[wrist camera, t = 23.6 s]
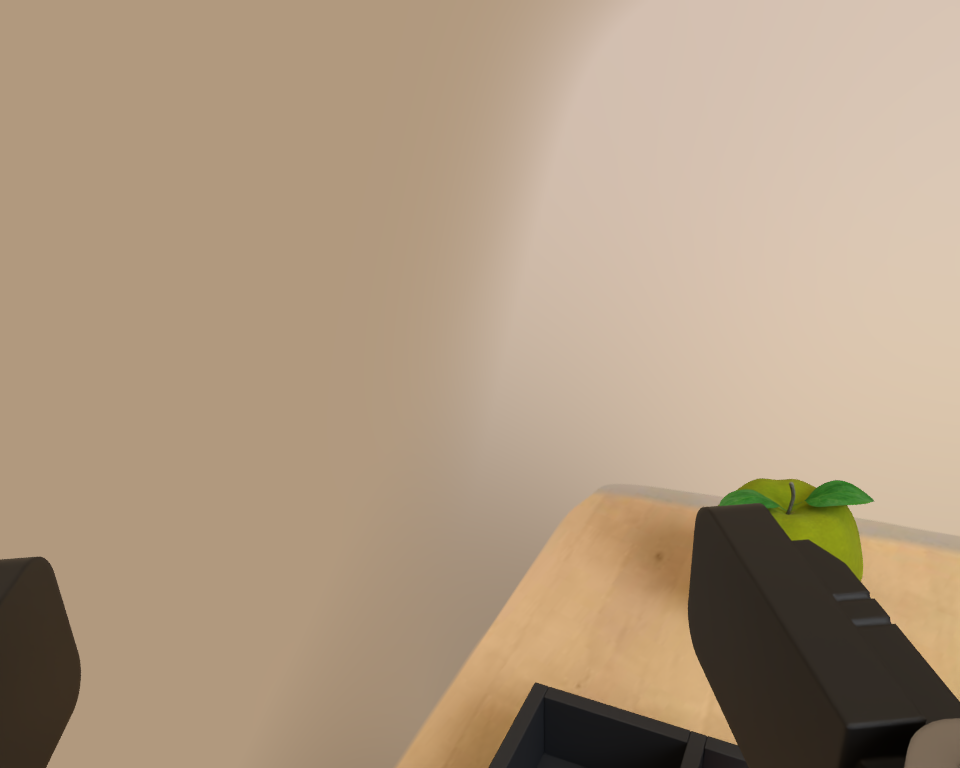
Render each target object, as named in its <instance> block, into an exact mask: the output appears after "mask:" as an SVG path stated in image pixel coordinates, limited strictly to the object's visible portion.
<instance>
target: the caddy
mask: <svg viewBox="0 0 960 768" xmlns="http://www.w3.org/2000/svg"><path fill="white" fill-rule="evenodd" d="M489 768H749V767H748V765H747V763H746V761H745V759H744V757H743V754H742V752H741V750H740V748H739V746H738V745H735V744H731V743H728V742H725V741H722V740H719V739H715V738H712V737H709V736H708V737H707V736H705V735H702V734H699V733H696V732H693V731H691V732H690V730H686V729H683V728H680V727H677V726H674V725H670V724H667V723H664V722H661V721H658V720H654V719H651V718H648V717H645V716H642V715H638V714H635V713H632V712H629V711H626V710H622V709H619V708H616V707H613V706H610V705H606V704H603V703H600V702H597V701H594V700H590V699H587V698H584V697H581V696H578V695H574V694H571V693H568V692H565V691H562V690H558V689H555V688H552V687H548V686H545V685H542V684H539V683H535V684H534V685H533V687H532V689H531V691H530V693H529V695H528V696H527V698H526V700H525V702H524V704H523V706H522V707H521V709H520V711H519V713H518V715H517V717H516V718H515V720H514V722H513V724H512V726H511V728H510V729H509V731H508V733H507V735H506V737H505V739H504V740H503V742H502V744H501V746H500V748H499V750H498V751H497V753H496V755H495V757H494V759H493V761H492V762H491V764H490V766H489Z"/></svg>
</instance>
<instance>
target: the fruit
mask: <svg viewBox="0 0 960 768" xmlns="http://www.w3.org/2000/svg"><path fill="white" fill-rule="evenodd" d="M873 501H874V500H873V499H872V498H871V497H870V496H868V495H867V494H866V493H865V492H863V491H862V490H861V489H859V488H858V487H856V486H854V485H852V484H850V483H848V482H845V481H838V480H835V481H830V482H827V483H824V484H823V485H821V486H819V487H817V488H815V487H814V486H811V485H810V484H808V483H806V482H803V481H800V480H796V479H787V480H771V479H756V480H753V481H750V482H748V483H746V484H745V485H743V486H742V487H741V488H739V489H738V490H736V491H734V492H731V493H729V494H728V495H727V496H725V497H724V498H723V499H722V500H721V502H720V504H719V505H718V506H727V505H740V504H753V503H761V504H763V505H764V506H765V507H766V508H767V509H768V510H769V511H770V513H771V514H772V515H773V517H774V518H775V519H776V521H777V522H778V523H779V525H780V526H781V527H782V529H783V530H784V531H785V533H786V534H787V535H788V537H789V538H790V539H791V541H793V540H806V539H809V540H810V541H812V542H813V543H815V544H816V545H818V546H820V547H821V548H823V549H824V550H826V551H827V552H829V553H830V554H832V555H834V556H835V557H837V558H838V559H840V560H841V561H843V562H844V563H846V565H847V566H848V567H849V568H850V569H851V571H852V572H853V573H854V574H855V576H856V577H857V578H858V579H859V580H860V582H861V579H862V575H863V558H862V550H861V543H860V537H859V532H858V528H857V525H856V522H855V520H854V517H853V515H852V513H851V511H850V510H849V508H848V506H847V505H857V504H866V503H870V502H873Z"/></svg>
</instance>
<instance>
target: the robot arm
mask: <svg viewBox="0 0 960 768" xmlns="http://www.w3.org/2000/svg"><path fill="white" fill-rule="evenodd" d="M688 620H689V628H690V634H691V639H692V643H693V647H694V650H695V653H696V655H697V658H698V660H699V662H700V664H701V666H702V669H703V671H704V673H705V675H706V677H707V679H708V681H709V684H710V686H711V688H712V690H713V692H714V694H715V697H716V699H717V701H718V703H719V705H720V707H721V709H722V712H723V714H724V716H725V718H726V720H727V722H728V724H729V727H730V729H731V731H732V733H733V735H734V737H735V739H736V742H737V744H738V746H739V748H740V750H741V752H742V754H743V757H744V759H745V761H746V763H747V765H748V767H749V768H960V702H959V700H958V699H957V698H956V697H955V696H954V694H953V693H952V692H951V691H950V690H949V688H948V687H947V686H946V685H945V683H944V682H943V681H942V680H941V679H940V677H939V676H938V675H937V674H936V673H935V671H934V670H933V669H932V668H931V666H930V665H929V664H928V663H927V662H926V660H925V659H924V658H923V657H922V656H921V654H920V653H919V652H918V651H917V649H916V648H915V647H914V646H913V645H912V643H911V642H910V641H909V640H908V639H907V637H906V636H905V635H904V634H903V633H902V631H901V630H900V629H899V628H898V626H897V625H896V624H891V622H890V617H889V616H888V614H887V613H886V612H885V611H884V609H883V608H882V607H881V606H880V605H879V603H878V602H877V601H876V600H875V599H871V598H870V592H869V591H868V590H867V589H866V588H865V586H864V585H863V584H862V583H861V582H860V580H859V579H858V578H857V577H856V576H855V574H854V573H853V572H852V571H851V569H850V568H849V567H848V566H847V565H846V563H844V562H843V561H841V560H840V559H838V558H837V557H835V556H834V555H832V554H830V553H829V552H827V551H826V550H824V549H823V548H821V547H820V546H818V545H816V544H815V543H813V542H812V541H810V540H809V539H806V540H793V541H791V539H790V538H789V537H788V535H787V534H786V533H785V531H784V530H783V529H782V527H781V526H780V525H779V523H778V522H777V521H776V519H775V518H774V517H773V515H772V514H771V513H770V511H769V510H768V509H767V508H766V507H765V506H764V505H763V504H761V503H753V504H740V505H727V506H714V507H703V508H701V509H700V510H699V511H698V514H697V517H696V521H695V531H694V542H693V554H692V565H691V577H690V588H689V600H688ZM80 680H81V667H80V659H79V654H78V650H77V647H76V644H75V641H74V637H73V634H72V631H71V627H70V624H69V620H68V617H67V614H66V610H65V607H64V604H63V600H62V597H61V594H60V590H59V587H58V584H57V580H56V577H55V574H54V571H53V568H52V567H51V565H50V563H49V562H48V561H47V560H46V559H45V558H43V557H28V558H15V559H4V560H3V559H2V560H0V768H46V767H47V765H48V762H49V760H50V758H51V756H52V754H53V752H54V750H55V748H56V746H57V744H58V742H59V740H60V738H61V736H62V734H63V731H64V729H65V727H66V725H67V723H68V721H69V719H70V717H71V715H72V713H73V711H74V708H75V705H76V702H77V699H78V694H79V689H80Z"/></svg>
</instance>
